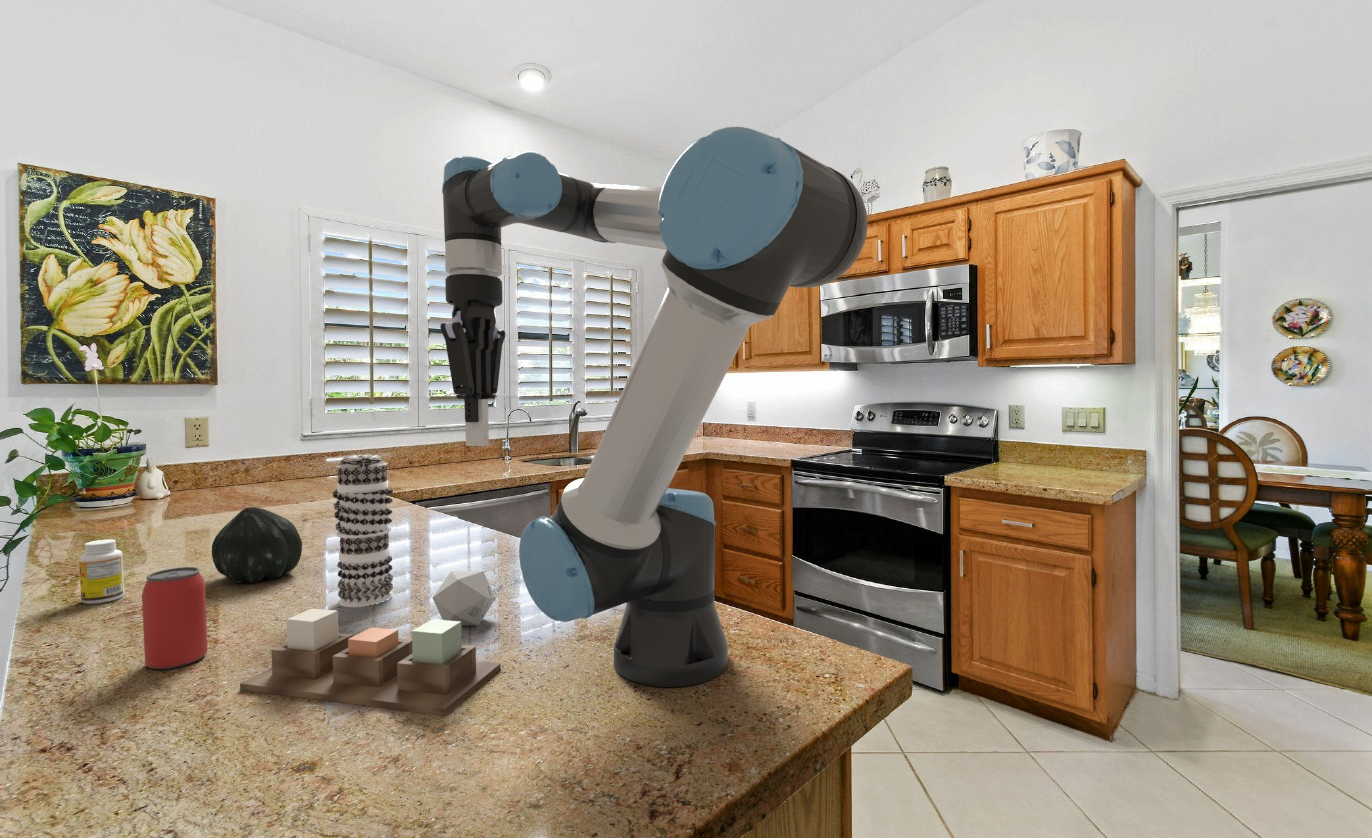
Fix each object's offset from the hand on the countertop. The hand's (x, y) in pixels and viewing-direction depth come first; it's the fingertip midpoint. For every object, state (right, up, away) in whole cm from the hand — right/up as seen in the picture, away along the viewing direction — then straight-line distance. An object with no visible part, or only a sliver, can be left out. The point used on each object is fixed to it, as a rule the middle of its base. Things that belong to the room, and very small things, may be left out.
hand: (477, 445), depth 89 cm
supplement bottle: (-72, -28, +21) cm, 80 cm away
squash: (-54, -27, +34) cm, 69 cm away
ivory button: (-18, -25, -8) cm, 32 cm away
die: (-5, -28, +10) cm, 30 cm away
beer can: (-39, -29, -4) cm, 49 cm away
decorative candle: (-26, -28, +21) cm, 43 cm away
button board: (-10, -29, -10) cm, 32 cm away
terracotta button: (-10, -27, -10) cm, 31 cm away
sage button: (-1, -26, -12) cm, 28 cm away
